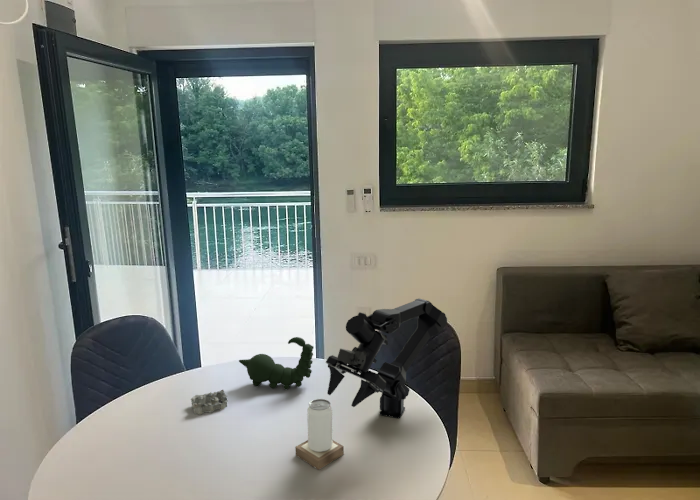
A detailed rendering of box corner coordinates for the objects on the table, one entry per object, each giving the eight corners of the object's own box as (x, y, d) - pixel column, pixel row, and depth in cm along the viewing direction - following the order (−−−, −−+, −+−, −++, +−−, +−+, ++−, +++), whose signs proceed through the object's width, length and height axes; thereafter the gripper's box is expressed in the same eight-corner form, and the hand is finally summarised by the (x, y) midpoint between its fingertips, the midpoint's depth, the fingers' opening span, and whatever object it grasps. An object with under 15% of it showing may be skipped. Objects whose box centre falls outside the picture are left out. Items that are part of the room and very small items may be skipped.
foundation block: (320, 441, 141) (320, 432, 140) (343, 454, 135) (343, 445, 134) (295, 455, 135) (295, 446, 134) (318, 469, 129) (318, 460, 128)
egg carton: (193, 417, 154) (192, 404, 153) (190, 405, 161) (190, 393, 160) (228, 409, 158) (228, 397, 157) (225, 398, 165) (224, 387, 164)
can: (334, 451, 132) (334, 409, 129) (309, 454, 130) (308, 411, 128) (330, 437, 138) (329, 397, 136) (306, 440, 137) (305, 399, 134)
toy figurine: (311, 384, 178) (241, 376, 179) (315, 334, 174) (243, 326, 175) (307, 397, 169) (233, 389, 170) (312, 344, 165) (236, 336, 166)
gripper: (330, 328, 144) (301, 377, 139) (379, 346, 132) (350, 401, 126) (349, 346, 152) (322, 393, 146) (398, 365, 139) (371, 417, 134)
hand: (340, 400), depth 138 cm, fingers open, 9 cm apart
